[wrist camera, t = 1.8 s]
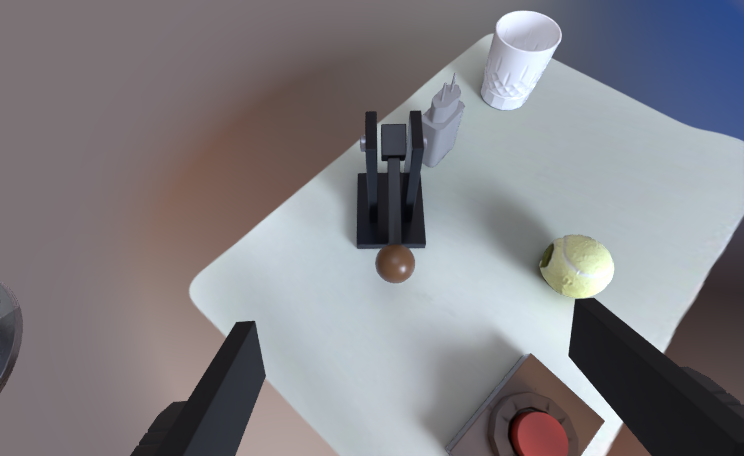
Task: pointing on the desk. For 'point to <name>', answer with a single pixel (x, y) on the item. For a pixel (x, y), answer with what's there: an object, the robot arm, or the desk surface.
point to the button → (538, 435)
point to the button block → (521, 394)
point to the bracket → (376, 190)
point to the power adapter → (442, 123)
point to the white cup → (518, 57)
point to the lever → (394, 208)
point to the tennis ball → (577, 266)
